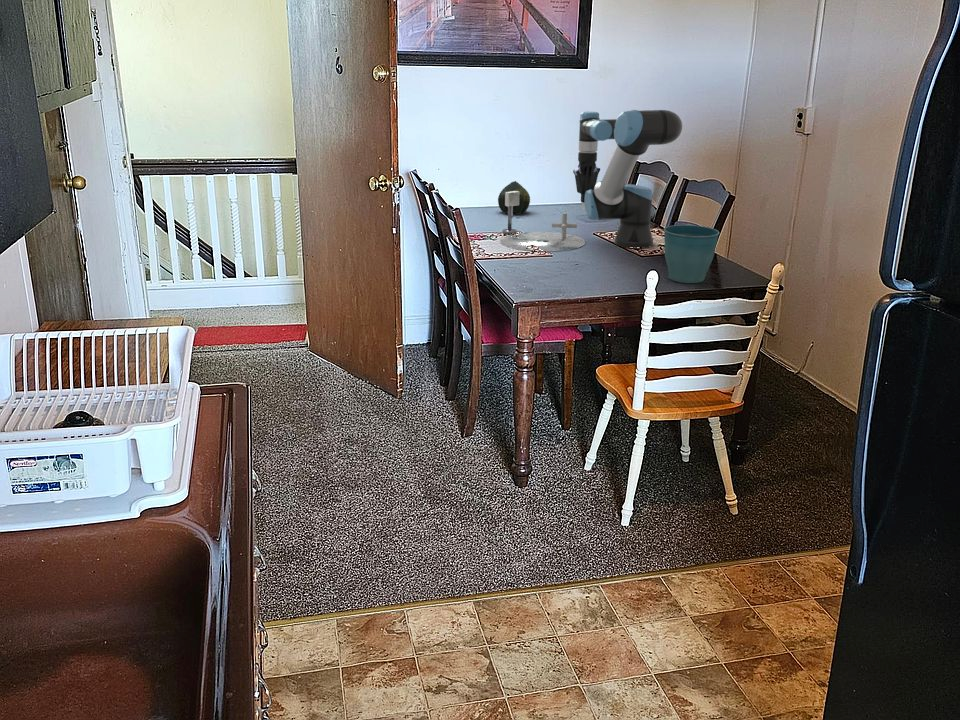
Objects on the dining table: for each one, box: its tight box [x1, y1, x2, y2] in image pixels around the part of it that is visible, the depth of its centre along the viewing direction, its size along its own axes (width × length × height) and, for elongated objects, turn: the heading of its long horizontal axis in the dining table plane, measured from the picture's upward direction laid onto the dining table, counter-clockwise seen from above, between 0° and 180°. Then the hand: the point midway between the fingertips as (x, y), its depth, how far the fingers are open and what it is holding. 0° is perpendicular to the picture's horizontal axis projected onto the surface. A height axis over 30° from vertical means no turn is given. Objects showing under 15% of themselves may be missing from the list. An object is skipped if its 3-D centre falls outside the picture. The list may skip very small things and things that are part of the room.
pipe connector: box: [551, 212, 578, 238], centre depth 349 cm, size 10×10×10 cm
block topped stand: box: [501, 191, 520, 235], centre depth 357 cm, size 6×6×17 cm
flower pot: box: [663, 224, 720, 284], centre depth 290 cm, size 18×18×17 cm
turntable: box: [500, 231, 586, 253], centre depth 345 cm, size 34×34×1 cm
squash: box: [497, 180, 531, 215], centre depth 400 cm, size 14×15×15 cm
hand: (584, 209), depth 353 cm, fingers closed
